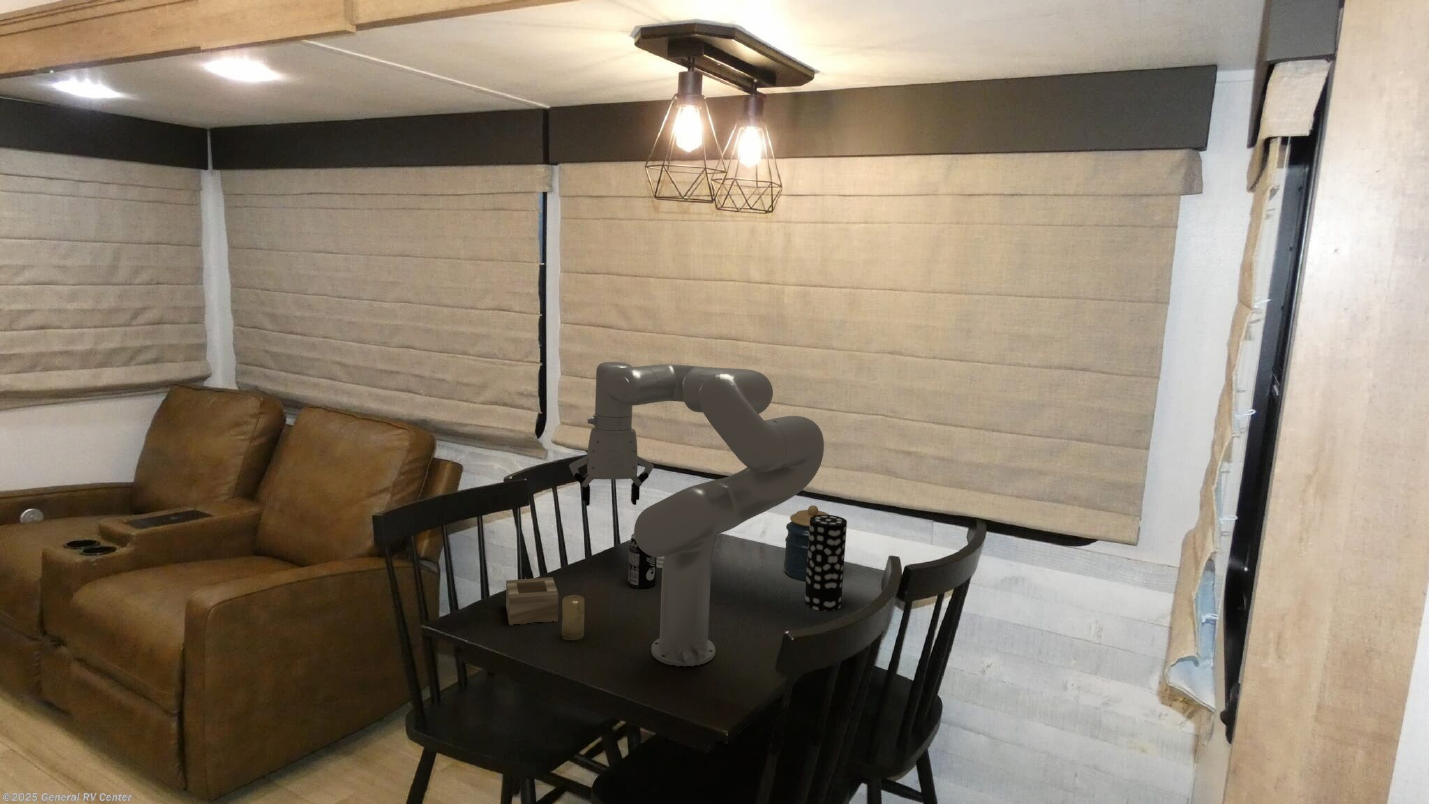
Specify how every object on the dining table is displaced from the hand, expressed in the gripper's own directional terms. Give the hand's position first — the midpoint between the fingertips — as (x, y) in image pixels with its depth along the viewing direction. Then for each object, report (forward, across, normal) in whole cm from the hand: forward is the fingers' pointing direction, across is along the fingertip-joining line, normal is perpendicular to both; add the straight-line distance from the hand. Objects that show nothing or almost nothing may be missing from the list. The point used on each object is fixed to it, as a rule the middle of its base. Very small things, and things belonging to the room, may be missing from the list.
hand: (610, 503), depth 175 cm
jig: (+26, -15, +6) cm, 31 cm away
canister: (+26, +54, +22) cm, 63 cm away
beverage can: (+26, +11, +20) cm, 35 cm away
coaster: (+27, +20, +34) cm, 47 cm away
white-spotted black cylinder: (+26, +50, +2) cm, 56 cm away
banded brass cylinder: (+26, -8, -6) cm, 28 cm away
